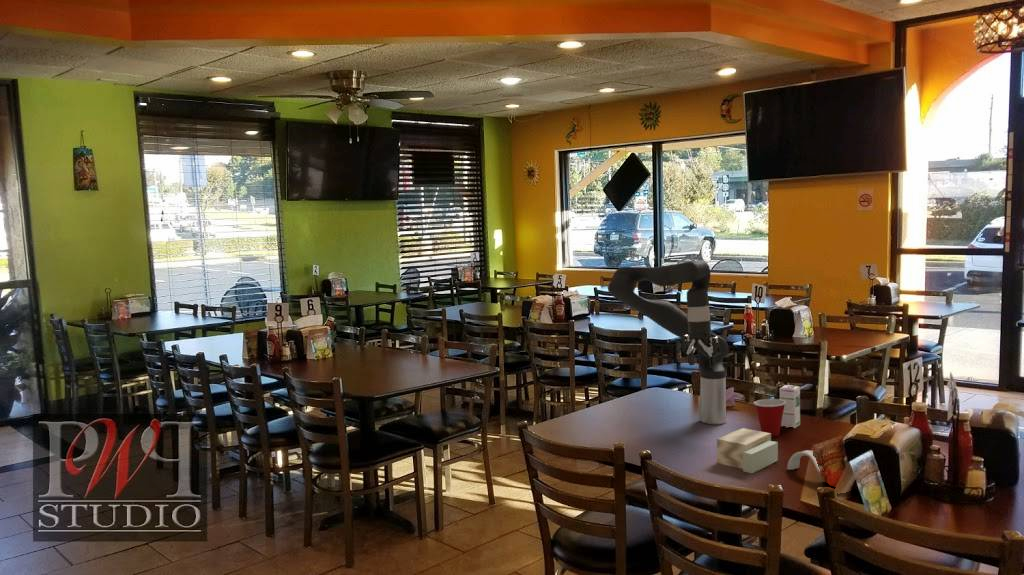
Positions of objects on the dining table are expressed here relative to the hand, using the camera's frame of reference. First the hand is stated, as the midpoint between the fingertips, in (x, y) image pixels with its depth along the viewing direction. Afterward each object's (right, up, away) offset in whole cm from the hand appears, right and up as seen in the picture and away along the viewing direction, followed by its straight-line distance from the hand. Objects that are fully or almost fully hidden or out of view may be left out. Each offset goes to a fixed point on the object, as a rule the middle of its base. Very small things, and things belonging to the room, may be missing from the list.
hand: (702, 366), depth 261 cm
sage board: (+12, -29, -23) cm, 39 cm away
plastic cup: (+26, -25, +10) cm, 38 cm away
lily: (+22, -22, +49) cm, 58 cm away
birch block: (+9, -28, -17) cm, 34 cm away
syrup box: (+37, -24, +20) cm, 49 cm away
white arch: (+27, -30, -36) cm, 54 cm away
